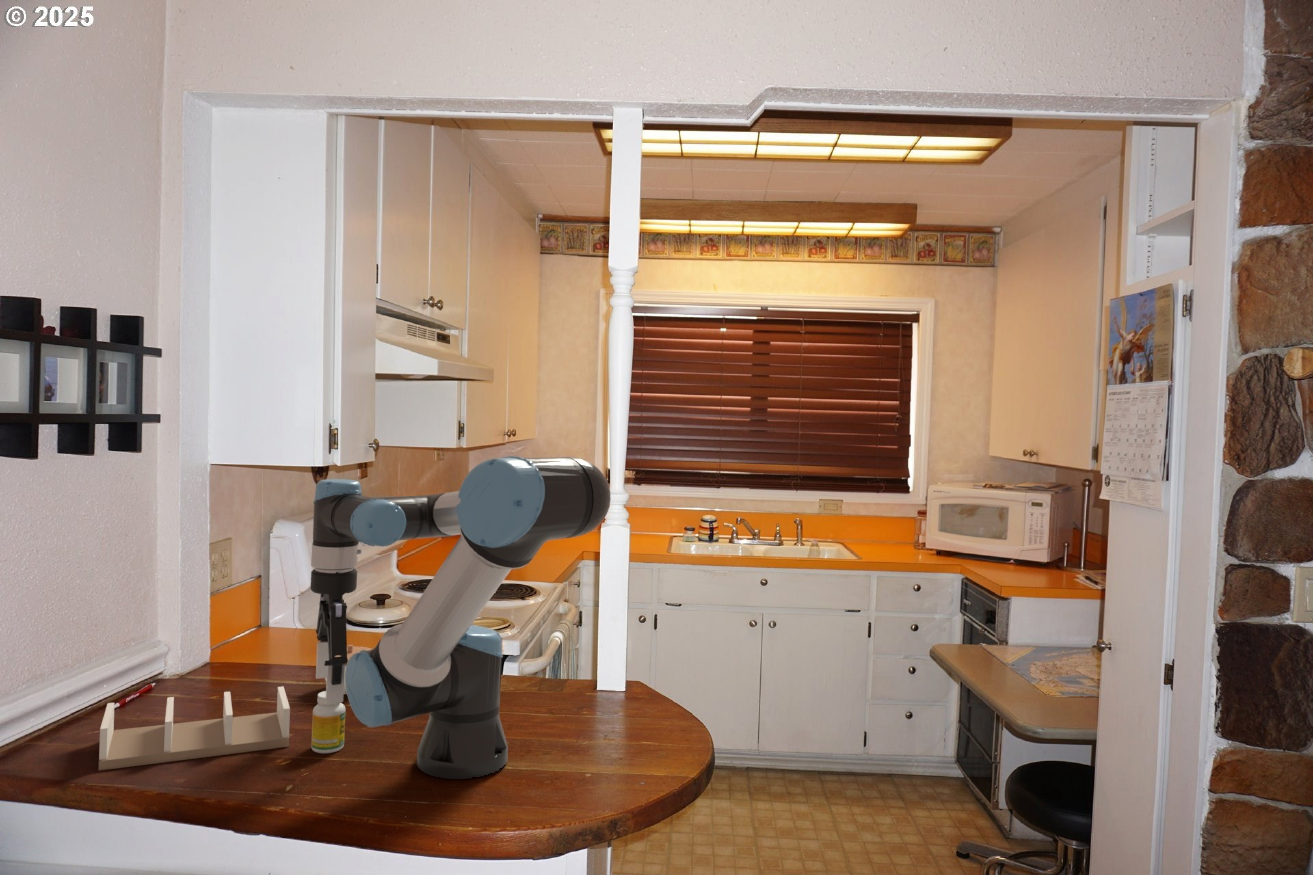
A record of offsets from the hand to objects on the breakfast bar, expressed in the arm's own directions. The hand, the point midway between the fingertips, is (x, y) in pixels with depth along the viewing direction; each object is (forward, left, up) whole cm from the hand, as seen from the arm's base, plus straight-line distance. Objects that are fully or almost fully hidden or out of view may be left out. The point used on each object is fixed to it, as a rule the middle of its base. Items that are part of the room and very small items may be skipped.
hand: (328, 689), depth 151 cm
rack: (+10, +20, -10) cm, 24 cm away
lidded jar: (+31, -8, -10) cm, 33 cm away
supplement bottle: (0, 0, -10) cm, 10 cm away
